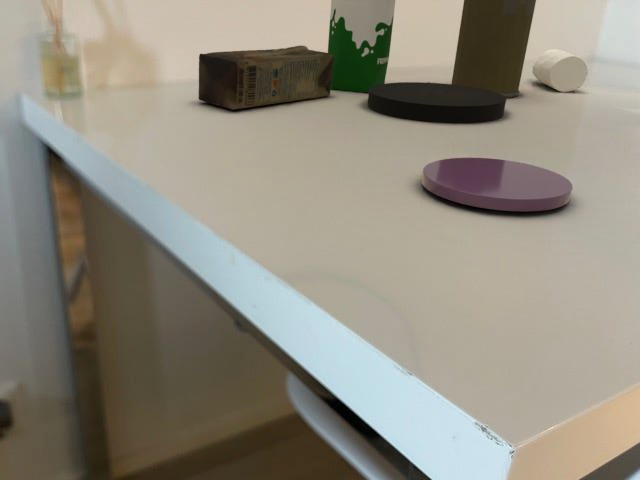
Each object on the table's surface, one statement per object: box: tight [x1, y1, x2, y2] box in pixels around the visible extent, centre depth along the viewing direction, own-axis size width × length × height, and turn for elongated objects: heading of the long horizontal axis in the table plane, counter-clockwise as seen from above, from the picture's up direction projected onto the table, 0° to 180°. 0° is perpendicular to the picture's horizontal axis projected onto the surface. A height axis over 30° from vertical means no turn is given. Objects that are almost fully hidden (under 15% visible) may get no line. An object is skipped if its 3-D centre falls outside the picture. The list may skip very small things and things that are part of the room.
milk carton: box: [327, 0, 396, 94], centre depth 98 cm, size 9×9×20 cm
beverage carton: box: [198, 45, 334, 111], centre depth 90 cm, size 8×19×7 cm, turn 133°
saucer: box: [421, 157, 573, 212], centre depth 56 cm, size 12×12×1 cm
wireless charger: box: [367, 81, 507, 124], centre depth 89 cm, size 18×18×2 cm
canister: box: [451, 0, 537, 99], centre depth 98 cm, size 11×10×20 cm
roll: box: [531, 48, 589, 93], centre depth 108 cm, size 6×12×6 cm, turn 177°
